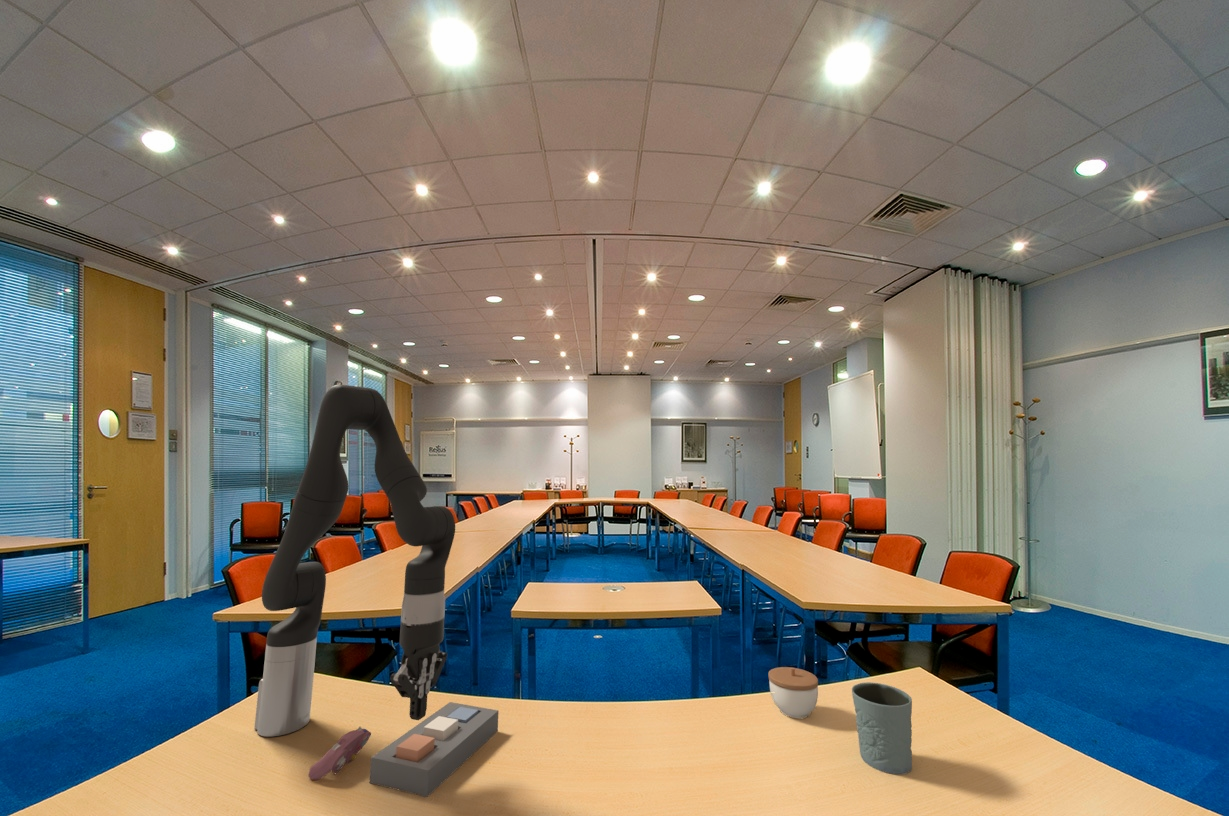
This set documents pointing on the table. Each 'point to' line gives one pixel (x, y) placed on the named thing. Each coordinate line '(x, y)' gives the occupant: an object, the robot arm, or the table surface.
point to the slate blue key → (463, 714)
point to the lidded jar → (793, 691)
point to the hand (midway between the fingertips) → (417, 717)
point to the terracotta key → (415, 748)
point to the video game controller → (340, 753)
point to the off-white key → (441, 728)
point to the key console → (433, 753)
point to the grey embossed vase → (884, 726)
